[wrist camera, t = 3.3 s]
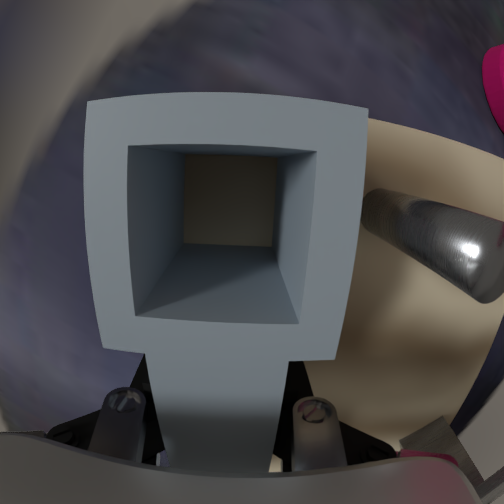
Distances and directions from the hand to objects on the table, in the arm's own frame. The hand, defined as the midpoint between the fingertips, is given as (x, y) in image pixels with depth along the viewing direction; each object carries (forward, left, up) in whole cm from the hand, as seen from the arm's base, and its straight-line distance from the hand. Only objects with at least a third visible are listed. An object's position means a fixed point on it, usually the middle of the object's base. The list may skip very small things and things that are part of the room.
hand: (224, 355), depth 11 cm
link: (0, 0, -1) cm, 1 cm away
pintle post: (+6, -6, -2) cm, 8 cm away
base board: (-1, -7, -2) cm, 7 cm away
